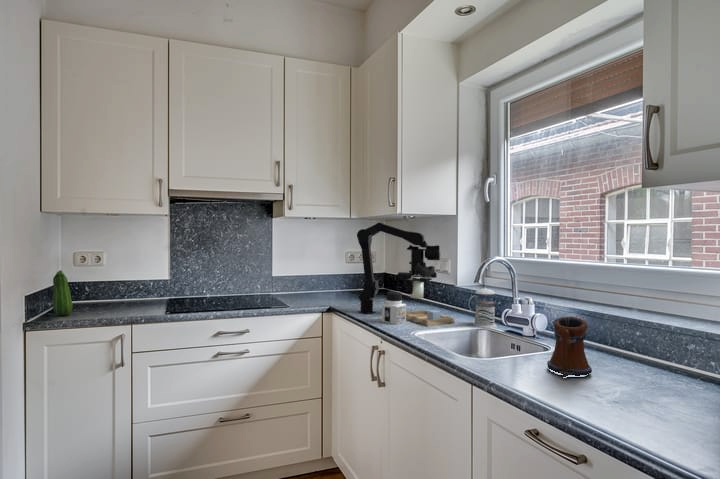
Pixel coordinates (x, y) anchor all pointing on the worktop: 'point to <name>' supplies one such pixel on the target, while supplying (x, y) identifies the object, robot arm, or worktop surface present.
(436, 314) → the block
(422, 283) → the cup
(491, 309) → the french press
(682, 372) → the worktop surface
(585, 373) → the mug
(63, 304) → the vegetable
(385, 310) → the container
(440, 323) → the tray
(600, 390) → the worktop surface
